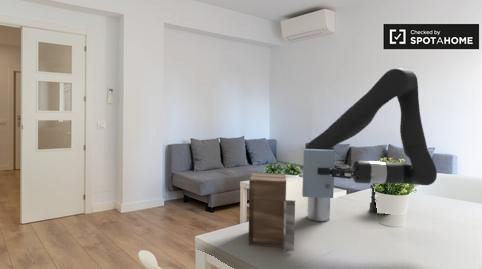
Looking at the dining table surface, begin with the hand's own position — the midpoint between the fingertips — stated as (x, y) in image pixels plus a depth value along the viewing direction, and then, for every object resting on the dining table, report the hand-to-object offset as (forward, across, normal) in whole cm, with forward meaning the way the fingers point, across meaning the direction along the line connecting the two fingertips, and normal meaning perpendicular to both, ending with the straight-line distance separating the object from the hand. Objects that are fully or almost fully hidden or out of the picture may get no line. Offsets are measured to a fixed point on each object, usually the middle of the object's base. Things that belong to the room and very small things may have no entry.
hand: (317, 170), depth 115 cm
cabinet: (+15, +2, +25) cm, 29 cm away
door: (0, 0, +9) cm, 9 cm away
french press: (-35, -42, +26) cm, 60 cm away
